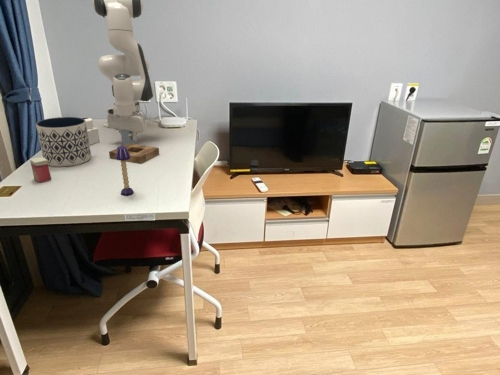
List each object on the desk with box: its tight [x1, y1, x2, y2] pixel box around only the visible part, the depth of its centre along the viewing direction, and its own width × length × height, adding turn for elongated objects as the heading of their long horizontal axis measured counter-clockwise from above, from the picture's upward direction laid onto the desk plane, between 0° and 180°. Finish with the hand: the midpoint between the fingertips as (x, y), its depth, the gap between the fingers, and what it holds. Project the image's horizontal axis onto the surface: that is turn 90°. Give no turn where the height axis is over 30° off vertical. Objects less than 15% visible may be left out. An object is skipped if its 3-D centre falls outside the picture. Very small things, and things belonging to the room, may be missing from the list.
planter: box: [35, 116, 92, 168], centre depth 144 cm, size 18×18×16 cm
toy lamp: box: [115, 145, 135, 197], centre depth 117 cm, size 5×5×17 cm
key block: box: [120, 130, 137, 146], centre depth 167 cm, size 5×5×8 cm
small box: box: [29, 156, 52, 183], centre depth 126 cm, size 5×4×8 cm
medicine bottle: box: [81, 117, 100, 146], centre depth 167 cm, size 7×7×12 cm
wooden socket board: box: [108, 143, 160, 165], centre depth 154 cm, size 16×14×3 cm
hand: (128, 139), depth 167 cm, fingers closed on key block, 4 cm apart
